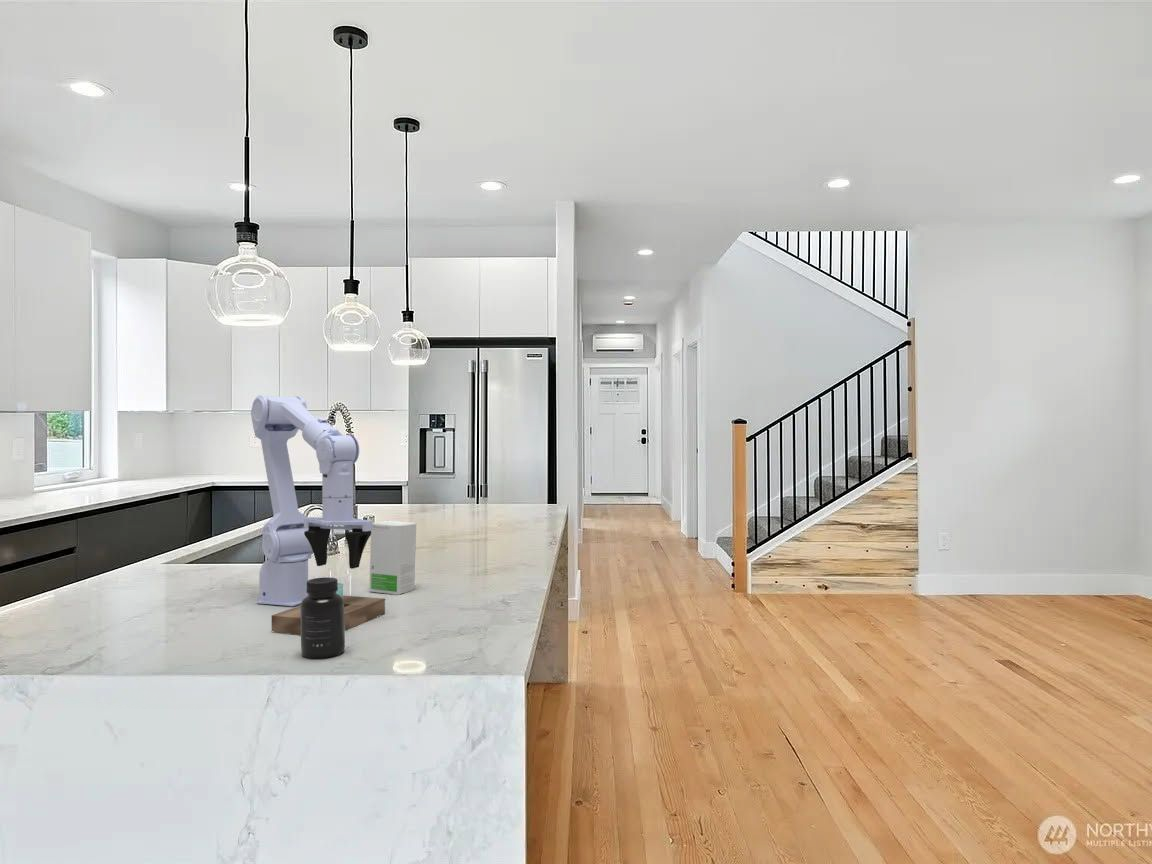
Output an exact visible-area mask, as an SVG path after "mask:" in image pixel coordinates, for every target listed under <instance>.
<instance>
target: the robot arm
mask: <svg viewBox="0 0 1152 864" xmlns="http://www.w3.org/2000/svg"><path fill="white" fill-rule="evenodd" d="M307 408H308V407H307V401H306V400H304V399H303V398H302V397H301V396H298V395H297V396H272V395H271V396H269V395H267V396H266V395H263V394H262V395H261V394H260V395H257V396H256V397H255V399H254V400H253V402H252V407H251V410H250V416H251V422H252V429H253V433H254V437H256V438H257V439H259V440H260V444H261V449H262V455H263V461H264V466H265V472H266V477H267V478H266V479H267V484H268V489H269V496H270V501H271V507H272V512H273V516H272V517H271V518H270V519H269V520H268V521H267V522H266V523H265V524H264V525H263V527H262V528H261V529H262V544H261V547H262V552H263V554H264V556H265V558H267V560H265V561H264V562H263V563H262V564H261V567H260V569H259V574H258V575H259V576H258V577H259V578H258V579H259V580H258V581H259V582H258V583H259V584H258V585H259V586H258V587H259V589H258V590H259V599H258V600H257V601H256V603H257V604H262V605H275V606H287V607H295V606H296V607H297V606H298V605H299V606H300V605H301V602H302V600H303V599H304V598H305V597H307V596H308V593H306V589H307V581H308V580H309V559H312V555H314V561H315V563H316V566H317V567H321V566H324V565H325V566H326V565H327V564H328V563H327V562H328V546H329V545H328V544H329V538H330V534H331V531H332V530H344V531H348V532H345V533H344V536H345V539H346V543H347V547H348V565H349V569H356V568H359V567H360V563H361V560H362V556H363V552H364V549H365V547H366V545H367V542H368V540H369V539H370V538H371V530H373V523H374V522H373V520H371V519H362V518H355V517H354V464H355V463H356V462H358V461H357V460H358V459H359V456H360V445H359V441H358V439H357V438H356V436H354V434H352V433H351V434H349V433H348V434H342V432H340V431H339V429H337V428H335V427H334V426H332V424H331V423H330V422H328V419H327V418H326V417H317V418H316V417H315V416H314V415H313V414H312V413H311V412H310V411H309V410H308V409H307ZM299 430H300V431H301V434H302V435H301V436H302V439H303V441H304V442H306V443H307V444H308V445H309V446H310V447H311V448H312V449H314V451H315V454H316V458H317V461H318V465H319V468H318V469H319V473H320V474H322V476H321V477H322V481H321V483H322V493H321V495H322V496H321V497H322V498H321V499H322V505H321V507H322V515H321V517H311V516H310V517H308V516H307V515H305V514H304V513H302V512H300V511H299V507H298V499H297V494H296V489H295V488H296V487H295V483H294V482H295V481H294V477H293V472H292V466H291V461H290V460H291V459H290V455H289V449H288V440H290V439H292V438H294V437H295V436H296V435H297V433H298V431H299Z"/></svg>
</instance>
